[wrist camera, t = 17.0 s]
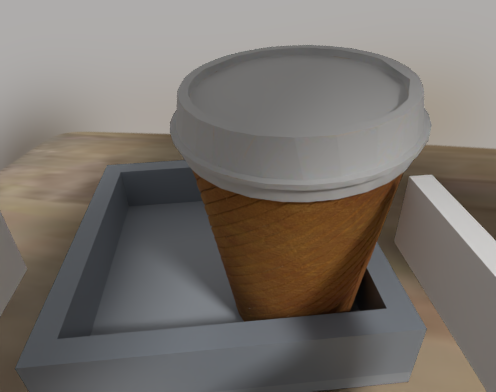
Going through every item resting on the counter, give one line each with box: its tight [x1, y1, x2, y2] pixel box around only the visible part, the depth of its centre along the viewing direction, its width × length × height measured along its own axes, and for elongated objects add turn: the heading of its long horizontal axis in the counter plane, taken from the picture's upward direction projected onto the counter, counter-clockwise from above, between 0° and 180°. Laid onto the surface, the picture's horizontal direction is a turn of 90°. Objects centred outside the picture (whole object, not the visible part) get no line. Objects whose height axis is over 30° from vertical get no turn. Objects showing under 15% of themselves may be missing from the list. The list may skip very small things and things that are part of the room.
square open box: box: [15, 160, 427, 392], centre depth 23 cm, size 16×16×4 cm
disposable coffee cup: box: [170, 45, 431, 322], centre depth 17 cm, size 10×10×12 cm
